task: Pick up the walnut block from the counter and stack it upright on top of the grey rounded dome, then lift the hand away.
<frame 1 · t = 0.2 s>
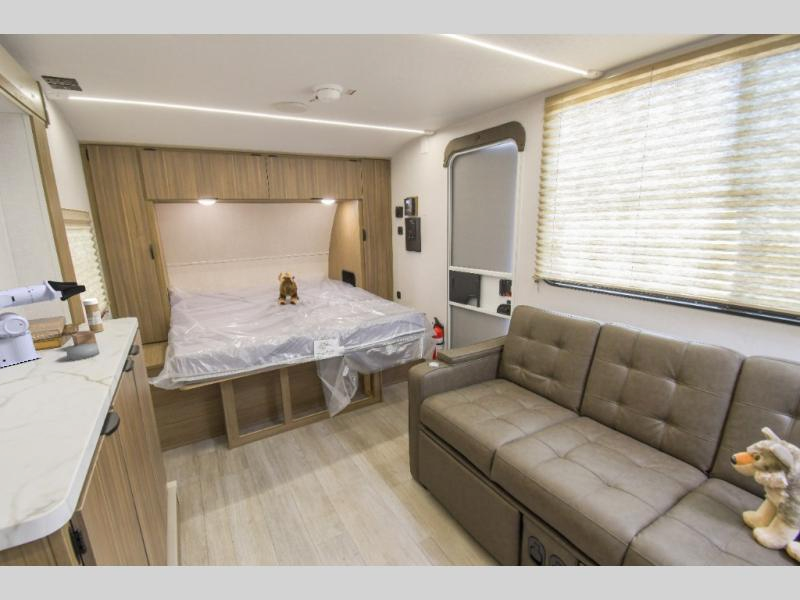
hand: (81, 286, 130), 21 cm above the table, tool horizontal, fingers open, 7 cm apart
grey rounded dome: (84, 355, 122), on the table
walnut block: (86, 346, 131), on the table
sprinkles bottle: (97, 331, 148), on the table
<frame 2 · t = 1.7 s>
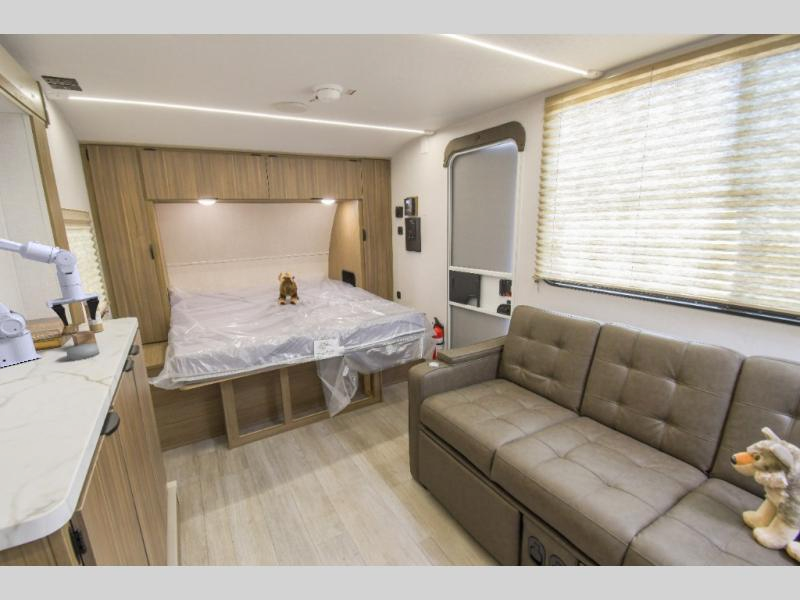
hand: (80, 322, 129), 9 cm above the table, tool pointing down, fingers open, 7 cm apart
nothing on the table moved.
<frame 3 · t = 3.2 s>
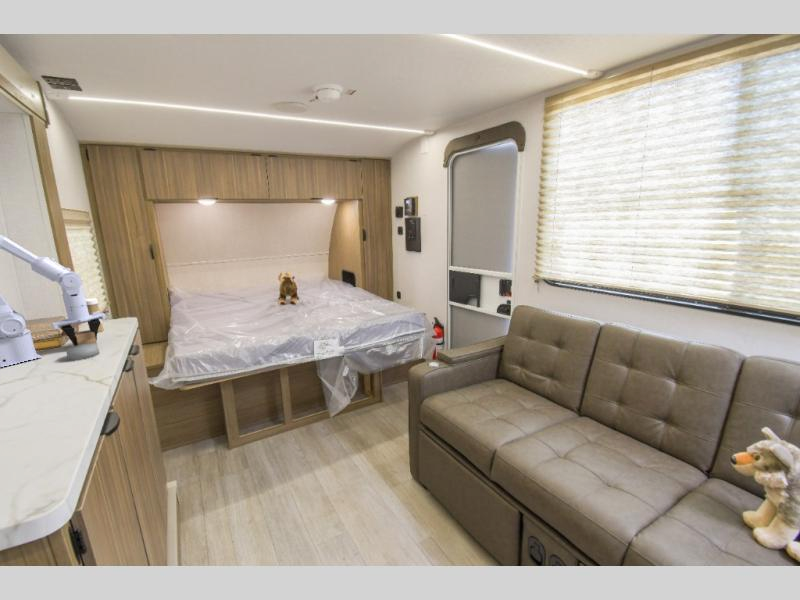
hand: (85, 342, 131), 1 cm above the table, tool pointing down, fingers closed on walnut block, 5 cm apart
walnut block: (86, 346, 131), on the table, touching gripper
everything else where it was.
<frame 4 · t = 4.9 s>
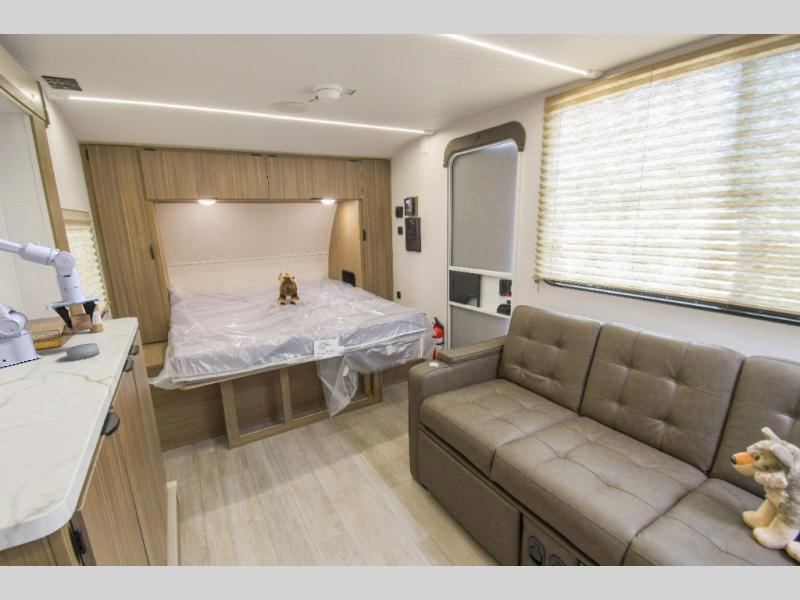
hand: (80, 325, 127), 8 cm above the table, tool pointing down, fingers closed on walnut block, 5 cm apart
walnut block: (81, 329, 128), point 7 cm above the table, touching gripper
everything else where it was.
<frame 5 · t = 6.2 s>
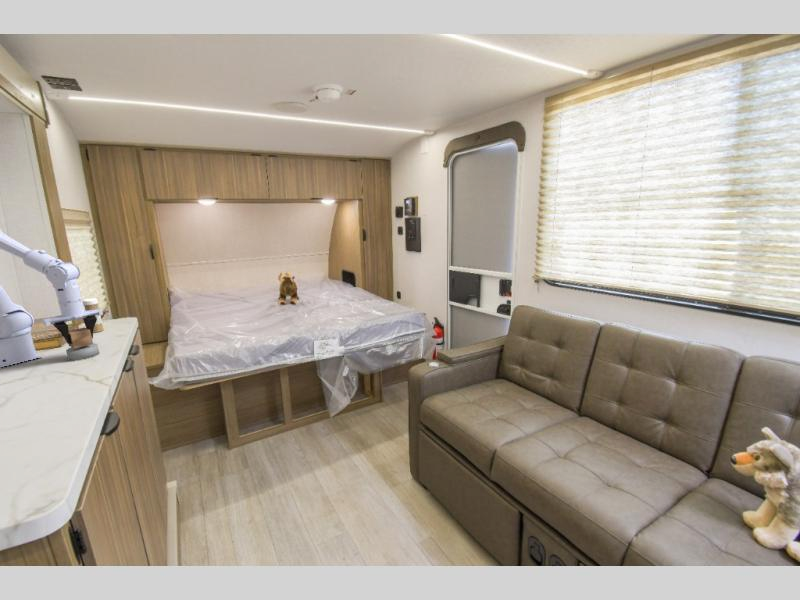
hand: (80, 340, 121), 5 cm above the table, tool pointing down, fingers closed on walnut block, 5 cm apart
walnut block: (81, 344, 121), point 4 cm above the table, touching gripper
everything else where it was.
when the fingers open (5 cm above the table, at t = 6.9 s): walnut block stays where it is, resting on grey rounded dome.
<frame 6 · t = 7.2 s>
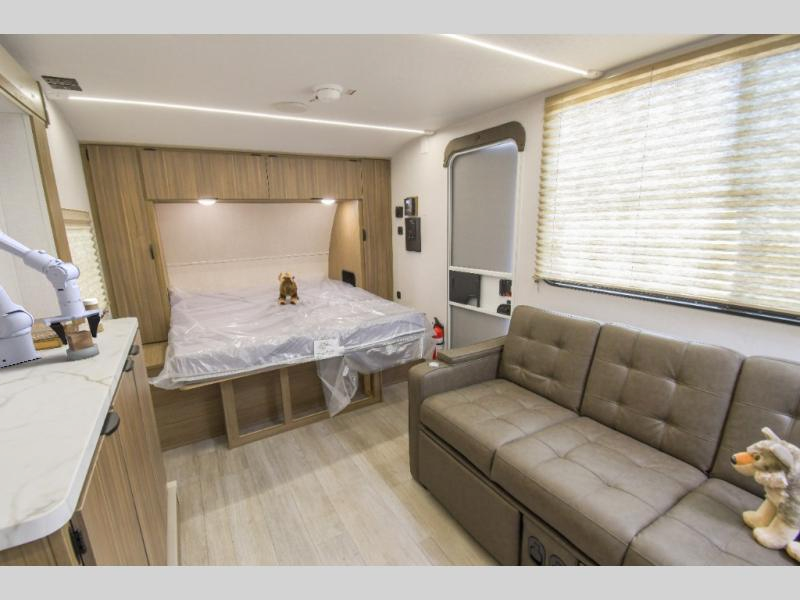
hand: (80, 340, 121), 5 cm above the table, tool pointing down, fingers open, 7 cm apart
walnut block: (81, 347, 121), point 3 cm above the table, touching grey rounded dome
everything else where it was.
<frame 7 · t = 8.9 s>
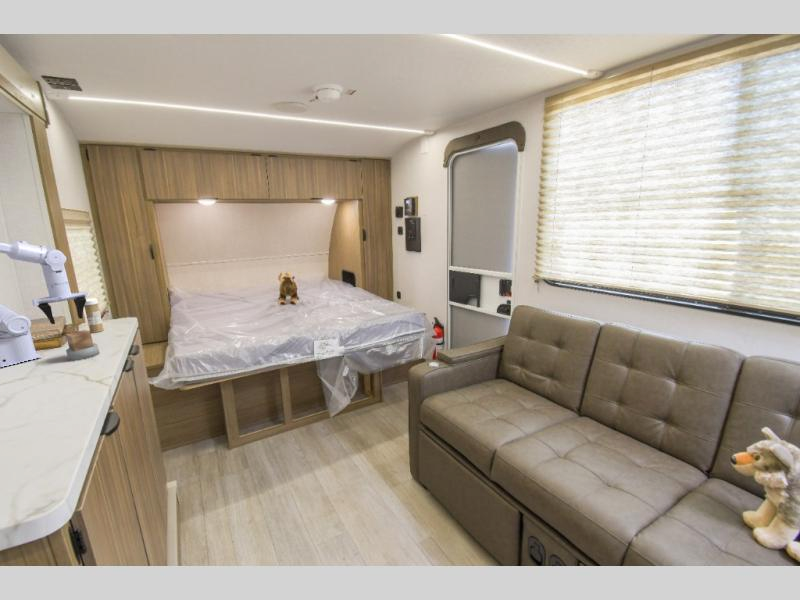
hand: (67, 320, 130), 9 cm above the table, tool pointing down, fingers open, 7 cm apart
nothing on the table moved.
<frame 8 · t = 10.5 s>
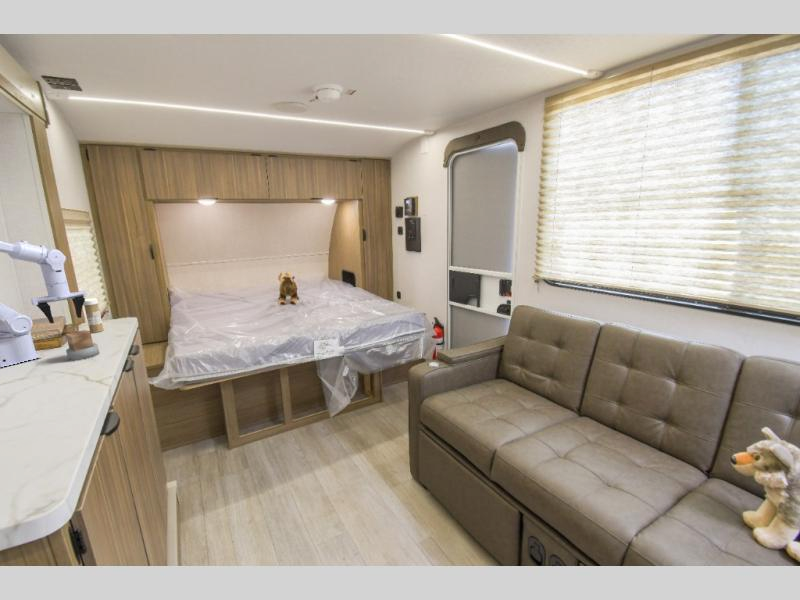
hand: (65, 320, 131), 9 cm above the table, tool pointing down, fingers open, 7 cm apart
nothing on the table moved.
at the end: walnut block 0.1 cm off-centre on the grey rounded dome, point 3.0 cm above the grey rounded dome's base; walnut block tilted 0°; the gripper is holding nothing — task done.
